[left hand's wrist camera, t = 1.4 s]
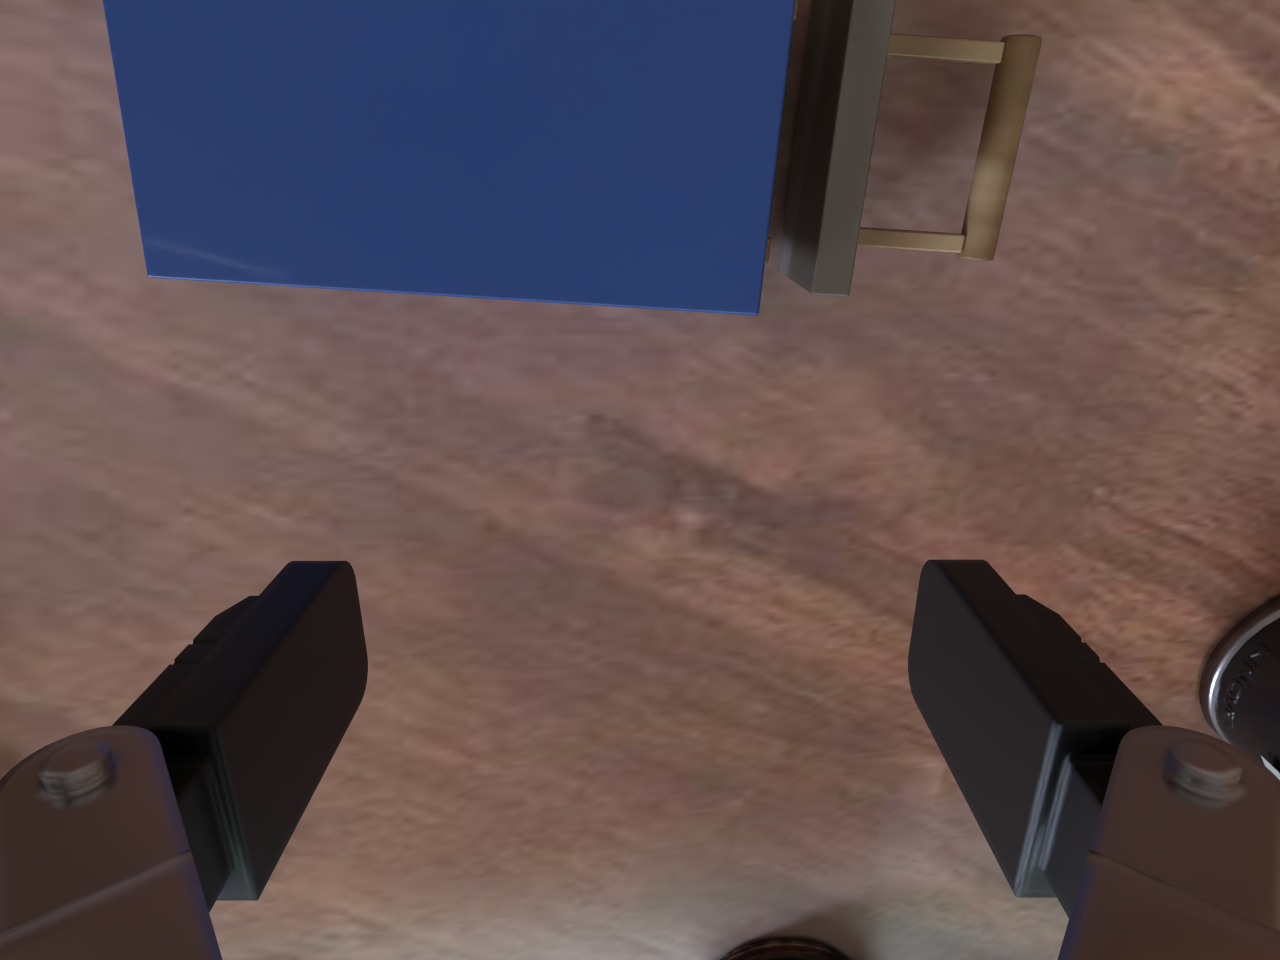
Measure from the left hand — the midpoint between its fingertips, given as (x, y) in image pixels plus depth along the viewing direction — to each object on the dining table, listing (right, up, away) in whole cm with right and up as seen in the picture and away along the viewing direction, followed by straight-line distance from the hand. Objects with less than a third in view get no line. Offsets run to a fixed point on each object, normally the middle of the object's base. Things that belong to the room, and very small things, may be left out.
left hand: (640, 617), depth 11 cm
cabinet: (-5, +15, +18) cm, 24 cm away
